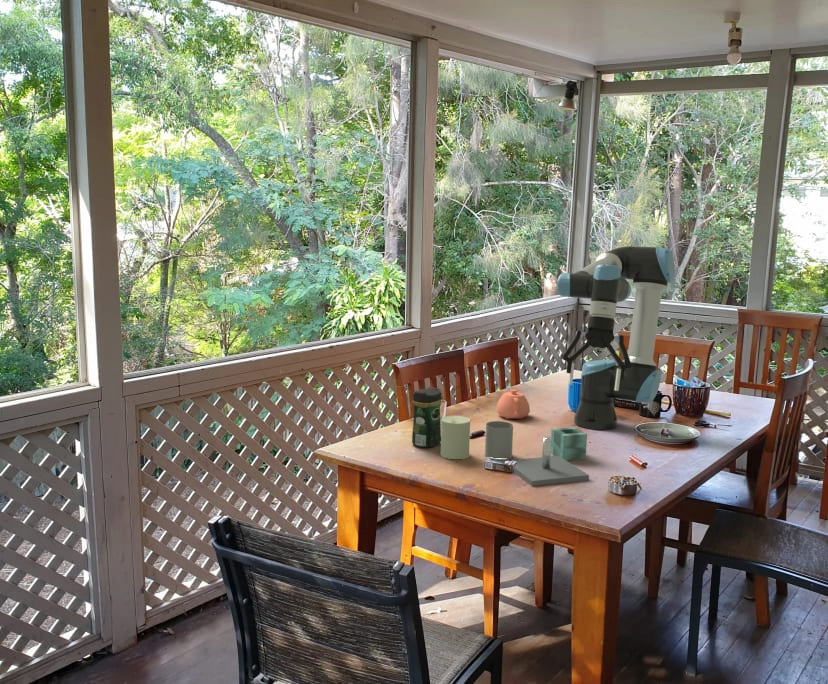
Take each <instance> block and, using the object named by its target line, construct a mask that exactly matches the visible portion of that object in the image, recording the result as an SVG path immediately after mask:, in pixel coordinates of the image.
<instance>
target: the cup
mask: <svg viewBox="0 0 828 684" xmlns="http://www.w3.org/2000/svg"><path fill="white" fill-rule="evenodd" d="M513 435H514V425H513V423H511V422H509V421H508V422H507V421H503V420H501V421H500V420H494V421H493V420H492V421H488V422H486V423H485V441H484V442H485V443H484V445H485V447H484V457H486V458H487V457H493V458H507V460H511V459H512V458H513V440H514V439H513Z"/></svg>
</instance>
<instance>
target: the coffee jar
mask: <svg viewBox="0 0 828 684" xmlns="http://www.w3.org/2000/svg"><path fill="white" fill-rule="evenodd" d="M441 404H442V392H441V390H440V389H439V388H437V387H431V386H429V387H426V388H422V389H418V390H415V391H413V393H412V405H413V420H412V421H413V423H412V424H413V425H412V433H411V434H412V436H411V443H412V445H414V446H415V447H417V446H418V447H417V448H421V447H422V448H431V447H435V446H436V445H439V444H441Z"/></svg>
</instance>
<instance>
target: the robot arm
mask: <svg viewBox="0 0 828 684" xmlns="http://www.w3.org/2000/svg"><path fill="white" fill-rule="evenodd" d="M675 271H676V270H675V259H674V255H673V252H672V251H671V250H670V249H669V248H666V247H658V246H656V247H655V246H653V247H652V246H630V245H629V246H628V245H627V246H620V247H616V248H614V249H610V250H608V251H606V252H603V253H602V254H600V255H599V256H598V257H597V259H596V260H595V261H593V262H592V263H590V264H588V265H587V266H584V267H583V268H581V269H580V270H578V271H576V272H574V273H571V272H564V273H561V274H559V276H558V277H557V281H556V291H557V293H558V295H559V296H561V297H564V298H565V297H566V298H580V299H590V306H589V312H588V314H589V315H590V316H589V317H588V322H587V329H586V331H581V330H580V329H578V330H576V332H575V335H574V338H573V340H572V341H571V342H570V344H569V345H568V347H567V349H566V350H565V351H564V353H563V355H561V359H562V360H564V361H565V362H566V363H567V364H566V374H569V377H568V385H569V386H572V385H573V380H574V372H575V371H574V370H575V365H576V364H575V362H574V361H575V360H576V359H578V357H579V356H580V355H581V354H582V353H584V352H585V351H586V350H588V348H589V347H592V348H599V349H607V351H608V352H609V353H610V355H611V356H612V358H613V359H614V360H613V359H597V360H596V359H595V360H589V361H586V362H584V363H583V365H582V368H581V369H582V370H581V374H580V376H581V377H580V382H581V383H580V399H579V400H580V401H579V404H578V405H577V410H576V411H575V414H574V418H573V419H574V420H573V423H574V425H576V426H578V427H581V428H586V429H590V430H613V429H615V428H616V427H617V426H618V417H617V413H616V410H615V405H614V401H615V399H616V400H622V401H628V402H629V401H630V402H634V403H644V404H648V403H651V402H653V401H654V400H655V398H656V396H657V394H658V391H659V388H660V384H661V375H662V374H661V372H660V371H659V370H658V369H657V367H658V365H657V364H656V362H655V361H654V354H655V346H656V339H657V331H658V324H659V316H660V307H661V302H662V301H661V300H662V293H663V292H664V291H665V290H666V289H667V288H668V283H672V282H673V281H674V277H675ZM628 280H630V281H631V280H632V286H634V288H635V289H636V290H635V297H634V306H633V311H632V312H633V313H632V320H631V328H630V335H629V342H628V350H627V348H626V346H625V343H624V341H625V337H624V335H623V334H621V335H614V329H615V328H614V327H615V317H616V310H617V303H620V302H624V301H626V300H627V299H628V298H629V297H630V296H631V292H632V287H631V284H630V282H629V281H628ZM584 336H585V339H586V340H587V341H586V342H585V343H584V344H583V345H582V346H581V347H580V348H578V349H577V350H576V351H575V352H574V353H573V354H572V355H570V354H571V353H572V351H574V348H575V347H576V345H577V344H578V343H579V340H580V339H582V338H583V337H584ZM614 340H615V342H616V343H617V344H618V347H619V350H620V352H621V356H622V358H623V360H622V359H621V357H620V356H619V355H618V353H617V352H616V350H615V349H614V347H613V345H612V344H611V343H612V342H613V341H614ZM569 355H570V356H569Z"/></svg>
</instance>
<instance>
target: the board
mask: <svg viewBox="0 0 828 684" xmlns="http://www.w3.org/2000/svg"><path fill="white" fill-rule="evenodd" d="M514 460H515V461H517V464H516V466H515V467H513V470H514V472H513V473H514V474H516V475H517V476H518V477H519V478H520V479H522V480H523V481H524V482H525V483H527V484H528V485H530V486H531V487H536V486H547V485H555V484H564V483H572V482H573V483H574V482H583V481H589V480H590V475H589V474H588V473H586V471H584V470H582V469H580V468H579V467H577V466H576V465H574V464H572V463H571V462H569V461H566V460H564V459H563V458H561V457H560V456H554V455H552V456H551V459H550V469H543V468H542V456H541V457H531V458H530V457H529V458H528V457H527V458H518V459H514Z"/></svg>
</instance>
